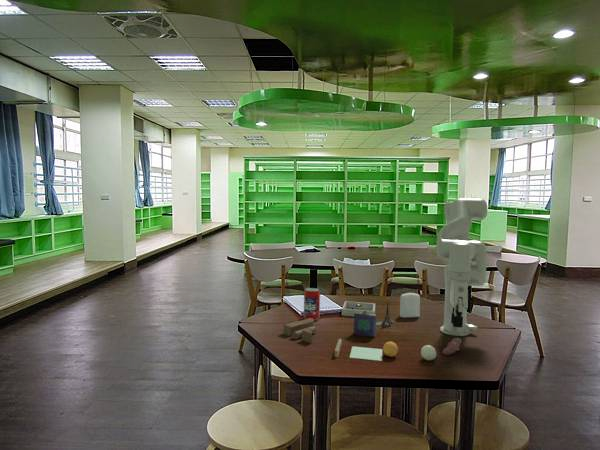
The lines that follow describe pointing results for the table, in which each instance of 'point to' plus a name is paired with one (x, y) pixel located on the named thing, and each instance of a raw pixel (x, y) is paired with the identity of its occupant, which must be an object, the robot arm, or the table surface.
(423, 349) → the cue ball
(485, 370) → the table surface
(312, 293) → the soda can
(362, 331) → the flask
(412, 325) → the table surface
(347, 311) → the cup tray
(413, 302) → the photo printer
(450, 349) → the video game controller
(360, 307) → the grey rounded piece
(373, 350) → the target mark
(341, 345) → the stop rail
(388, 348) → the orange ball
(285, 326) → the wooden block set
